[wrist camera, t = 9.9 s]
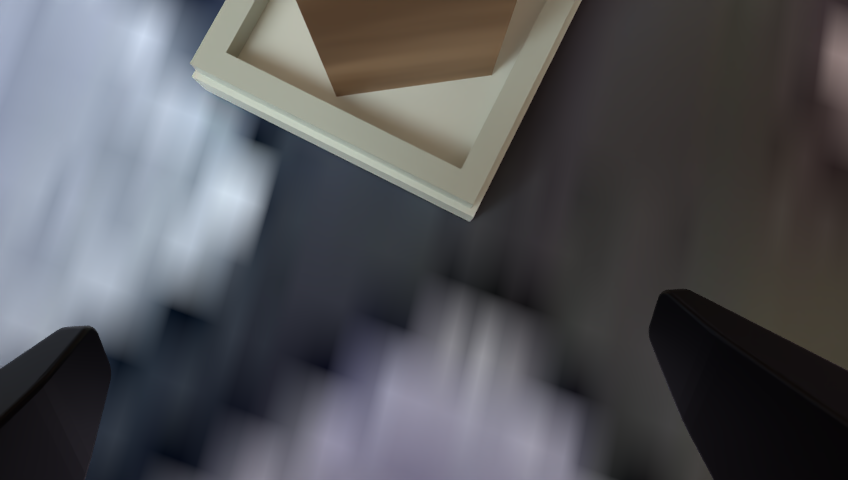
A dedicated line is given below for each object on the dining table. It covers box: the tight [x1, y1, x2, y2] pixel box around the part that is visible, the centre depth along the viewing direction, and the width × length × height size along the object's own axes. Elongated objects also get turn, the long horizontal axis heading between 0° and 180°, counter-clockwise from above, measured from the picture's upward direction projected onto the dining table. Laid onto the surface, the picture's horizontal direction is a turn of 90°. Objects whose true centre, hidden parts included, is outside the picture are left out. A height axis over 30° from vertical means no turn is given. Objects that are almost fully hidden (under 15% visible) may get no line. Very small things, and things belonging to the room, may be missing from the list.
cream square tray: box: [190, 0, 582, 222], centre depth 18 cm, size 10×10×2 cm
